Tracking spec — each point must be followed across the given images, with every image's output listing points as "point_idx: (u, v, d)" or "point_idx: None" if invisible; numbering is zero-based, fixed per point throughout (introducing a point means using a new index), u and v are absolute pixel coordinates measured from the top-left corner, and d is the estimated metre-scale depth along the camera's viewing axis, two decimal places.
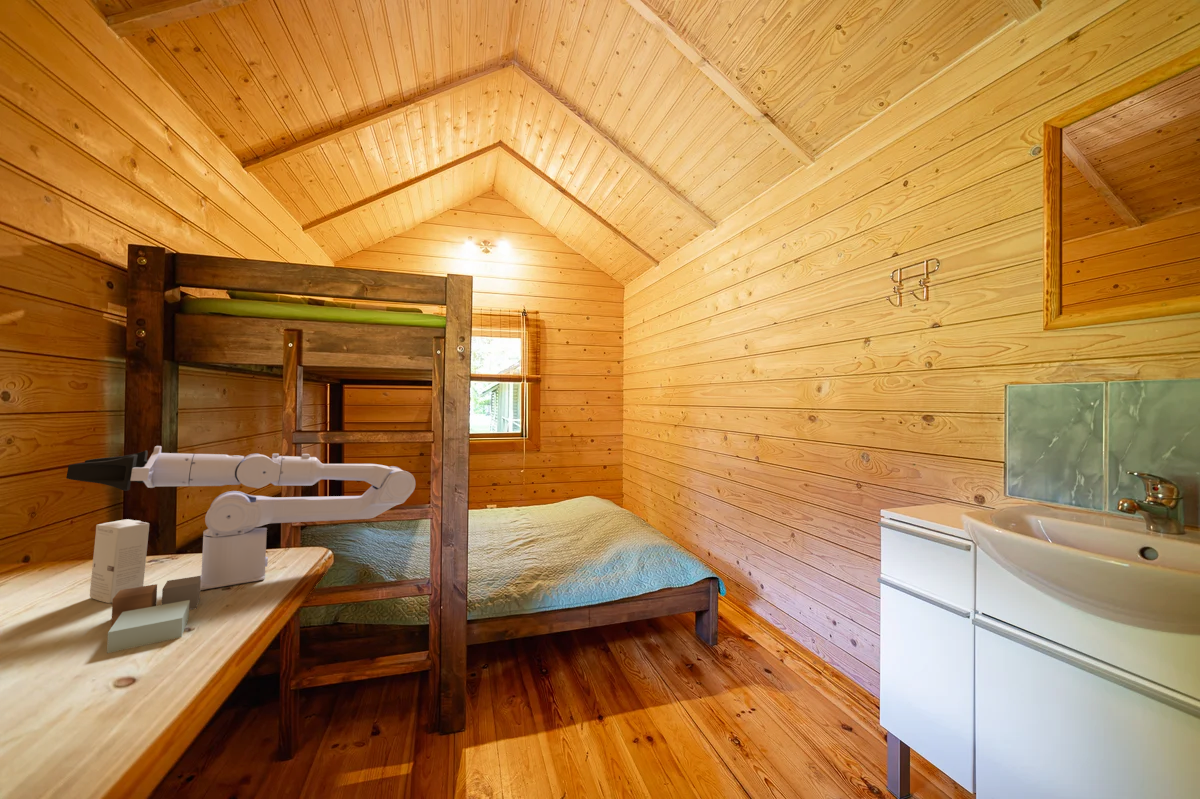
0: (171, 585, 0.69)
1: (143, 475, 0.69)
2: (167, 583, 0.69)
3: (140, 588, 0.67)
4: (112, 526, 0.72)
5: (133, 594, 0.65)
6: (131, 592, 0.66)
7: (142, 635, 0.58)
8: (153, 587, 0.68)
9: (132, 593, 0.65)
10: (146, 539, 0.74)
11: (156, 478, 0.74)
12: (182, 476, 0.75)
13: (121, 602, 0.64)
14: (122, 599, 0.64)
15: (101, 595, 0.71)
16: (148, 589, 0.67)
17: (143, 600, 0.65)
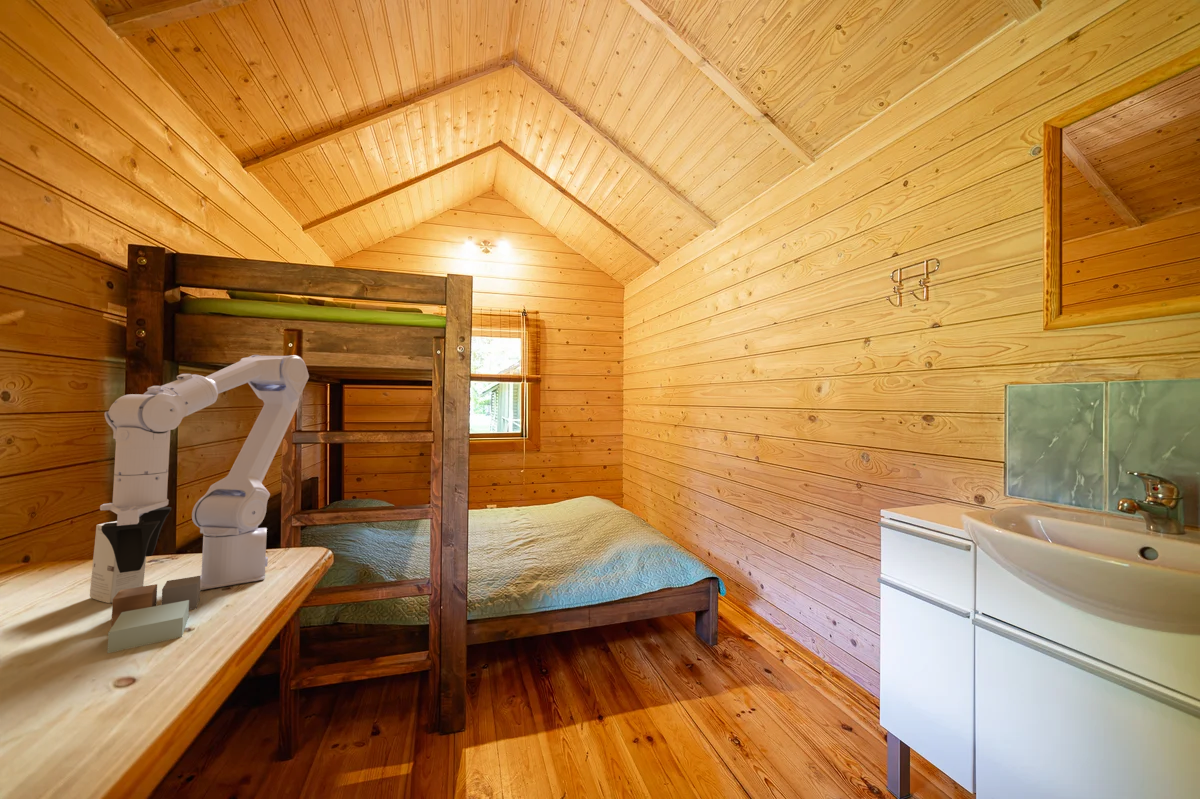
0: (171, 585, 0.69)
1: (129, 514, 0.61)
2: (167, 583, 0.69)
3: (140, 588, 0.67)
4: None
5: (133, 594, 0.65)
6: (131, 592, 0.66)
7: (142, 634, 0.58)
8: (153, 587, 0.68)
9: (132, 593, 0.65)
10: None
11: (148, 501, 0.65)
12: (145, 480, 0.65)
13: (121, 602, 0.64)
14: (122, 599, 0.64)
15: (101, 595, 0.71)
16: (148, 589, 0.67)
17: (144, 600, 0.65)
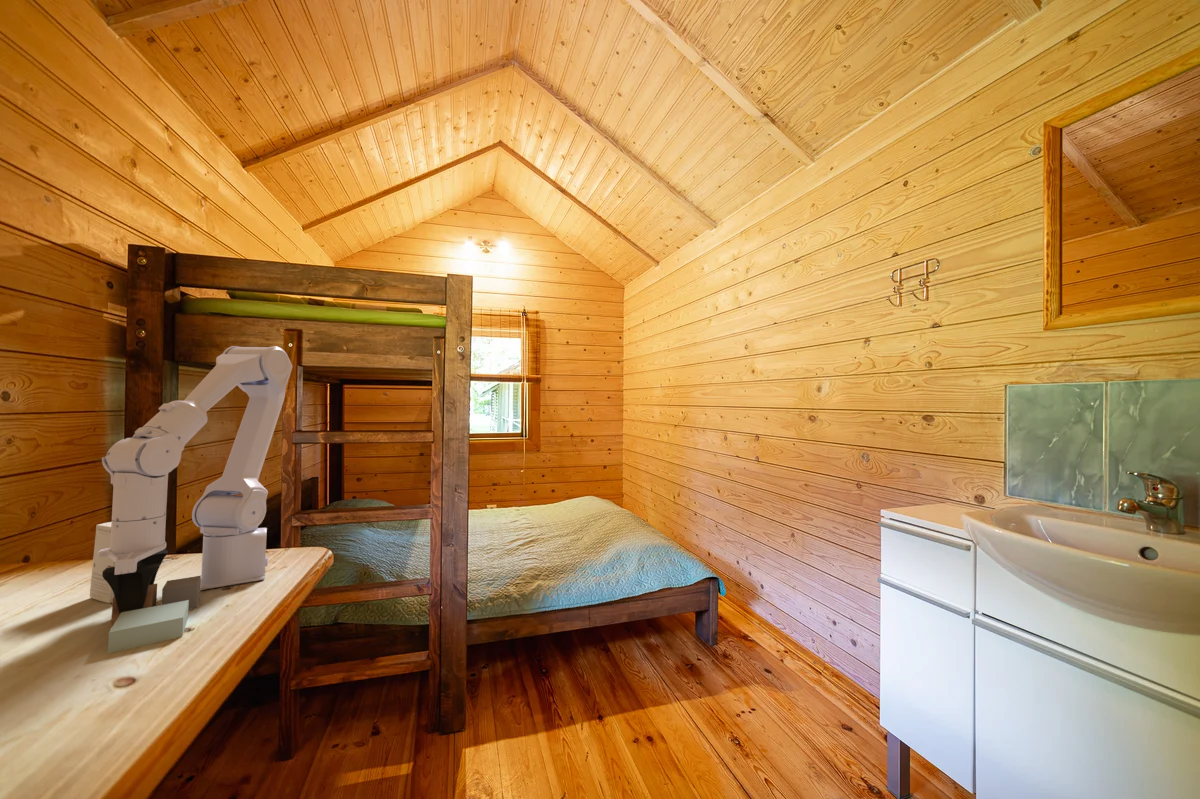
0: (171, 585, 0.69)
1: (127, 563, 0.61)
2: (167, 583, 0.69)
3: None
4: None
5: None
6: None
7: (143, 634, 0.58)
8: (153, 586, 0.68)
9: None
10: None
11: (145, 546, 0.65)
12: (143, 525, 0.65)
13: None
14: None
15: (101, 595, 0.71)
16: (148, 588, 0.67)
17: None
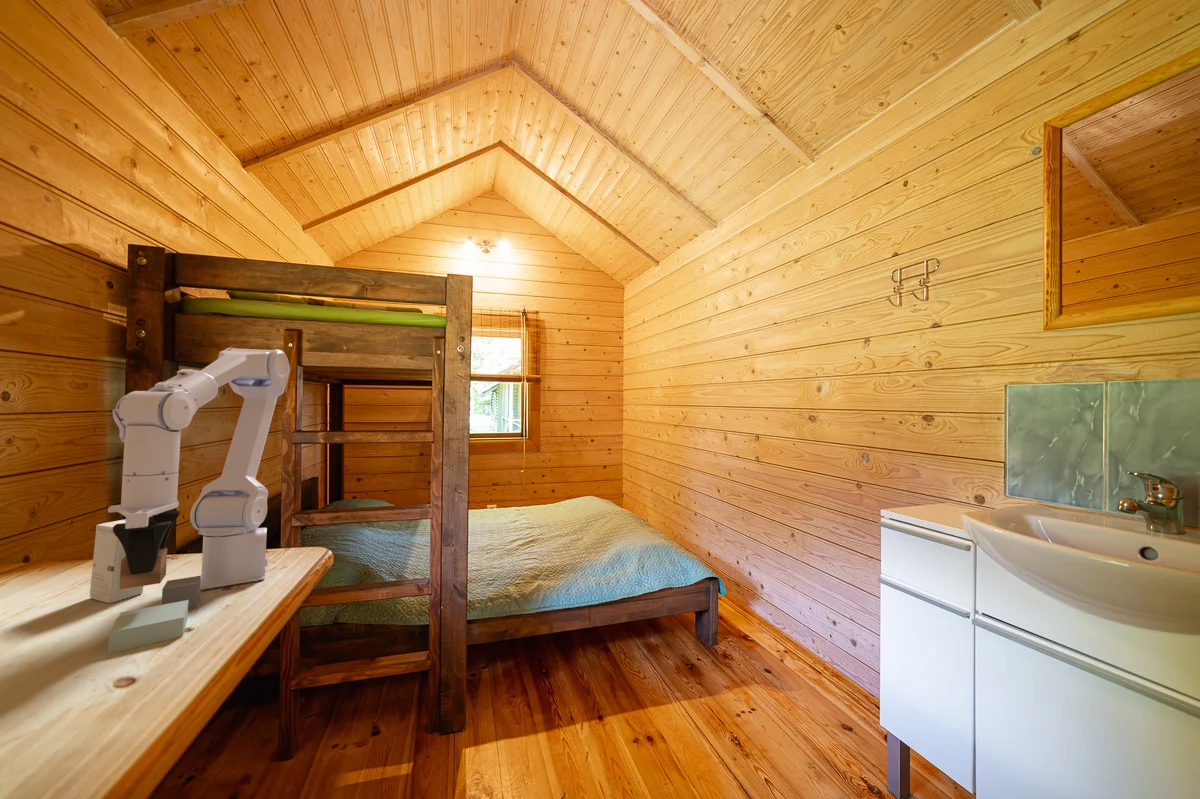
0: (171, 585, 0.69)
1: (138, 517, 0.58)
2: (167, 583, 0.69)
3: None
4: (112, 526, 0.72)
5: None
6: None
7: (143, 634, 0.59)
8: (163, 550, 0.65)
9: None
10: None
11: (157, 503, 0.62)
12: (155, 481, 0.62)
13: None
14: None
15: (101, 595, 0.71)
16: None
17: None
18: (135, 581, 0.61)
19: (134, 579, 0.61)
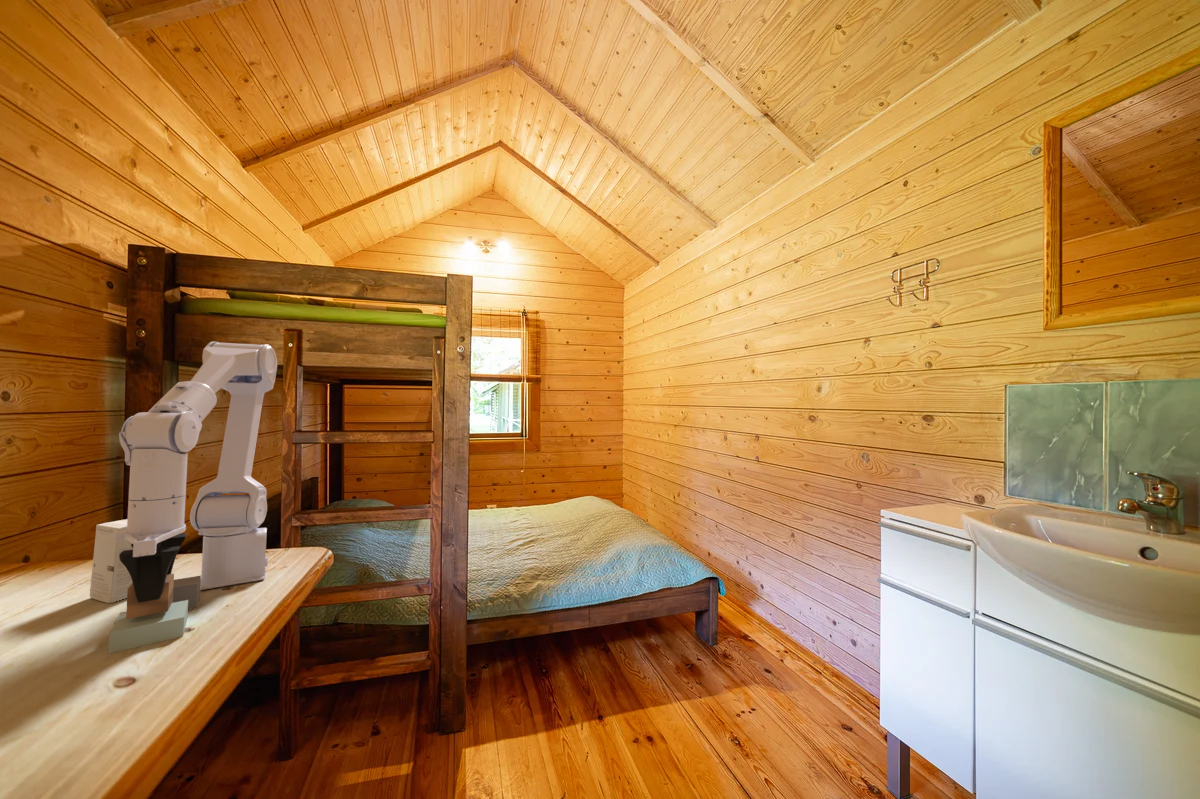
0: None
1: (146, 544, 0.56)
2: None
3: None
4: (112, 526, 0.72)
5: None
6: None
7: (143, 634, 0.59)
8: (170, 576, 0.63)
9: None
10: None
11: (165, 528, 0.61)
12: (162, 505, 0.60)
13: None
14: None
15: (101, 595, 0.71)
16: None
17: None
18: (142, 610, 0.60)
19: (141, 607, 0.59)
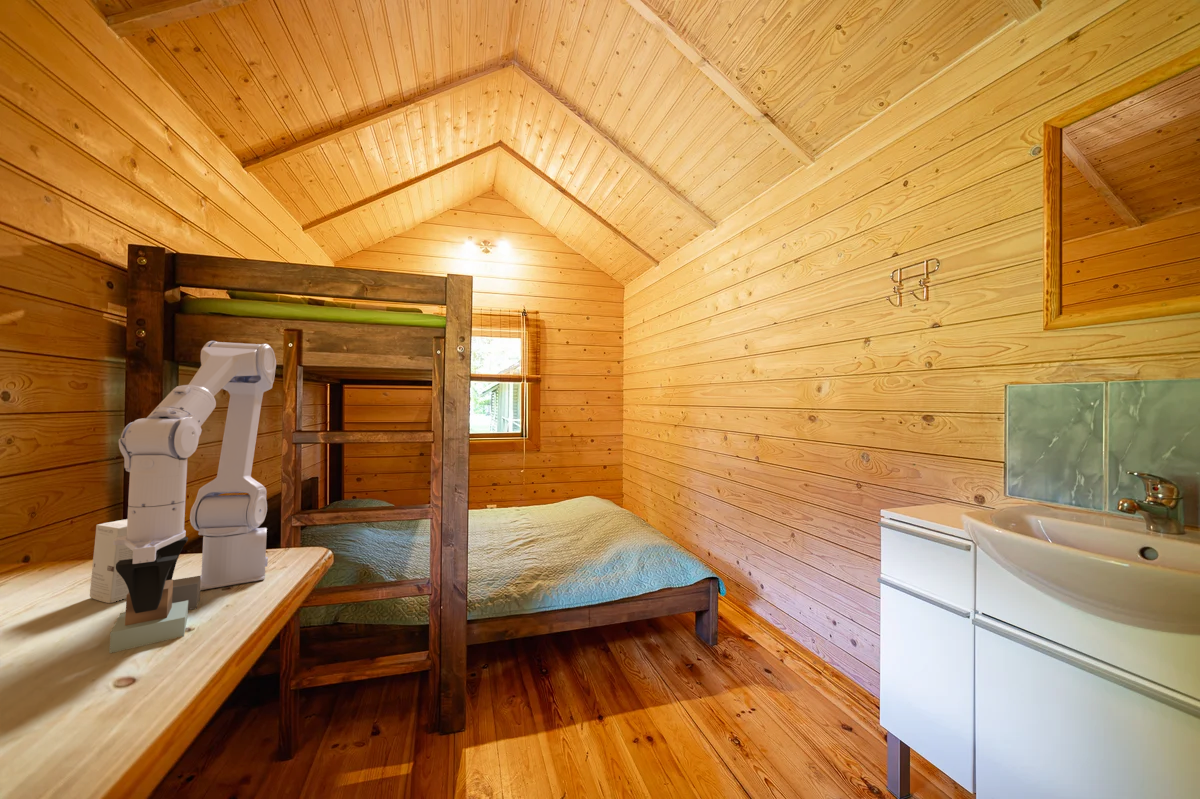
0: None
1: (145, 551, 0.56)
2: None
3: None
4: (112, 526, 0.72)
5: None
6: None
7: (144, 634, 0.59)
8: (169, 582, 0.63)
9: None
10: None
11: (164, 534, 0.61)
12: (162, 512, 0.60)
13: None
14: None
15: (101, 595, 0.71)
16: None
17: None
18: (141, 616, 0.59)
19: (140, 614, 0.59)
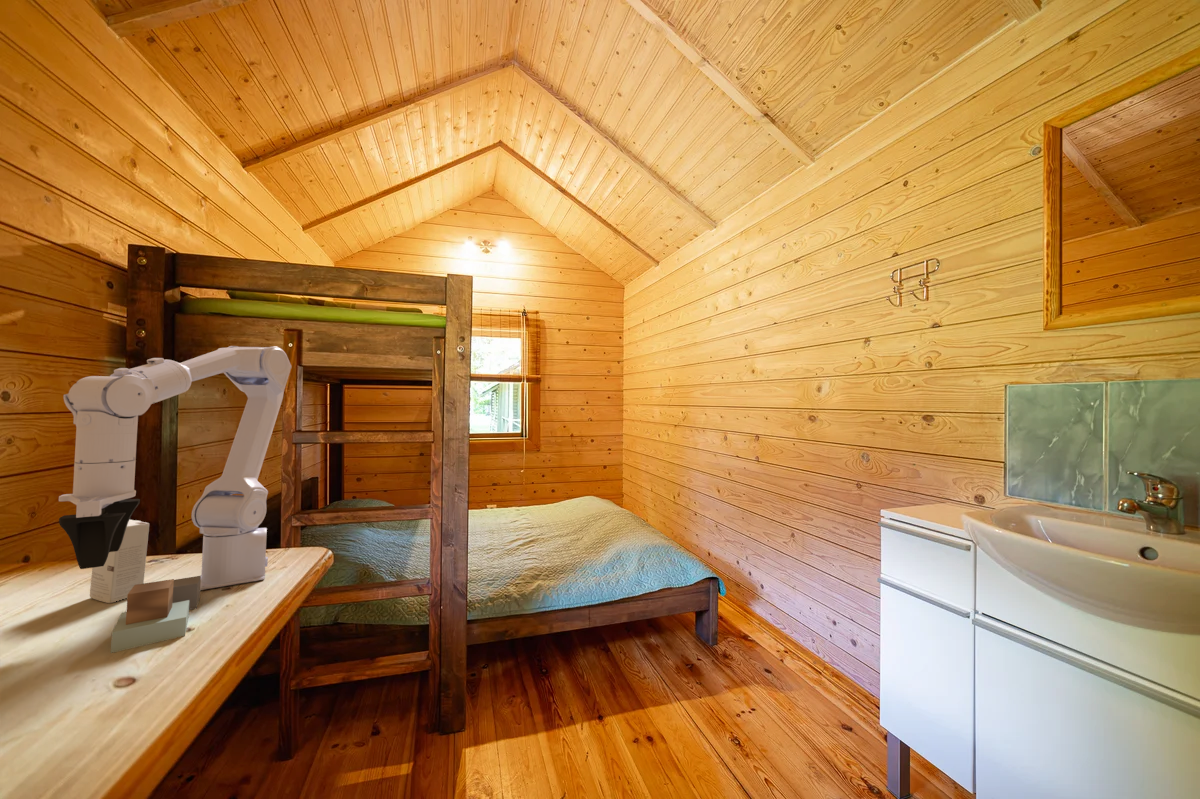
0: None
1: (90, 505, 0.56)
2: None
3: (156, 583, 0.63)
4: None
5: (149, 589, 0.60)
6: (146, 587, 0.61)
7: (146, 634, 0.59)
8: (170, 582, 0.63)
9: (147, 588, 0.61)
10: (146, 539, 0.74)
11: (112, 492, 0.60)
12: (109, 469, 0.60)
13: (136, 597, 0.59)
14: (138, 595, 0.59)
15: (101, 595, 0.71)
16: (165, 584, 0.62)
17: (160, 596, 0.61)
18: (142, 615, 0.60)
19: (141, 613, 0.60)
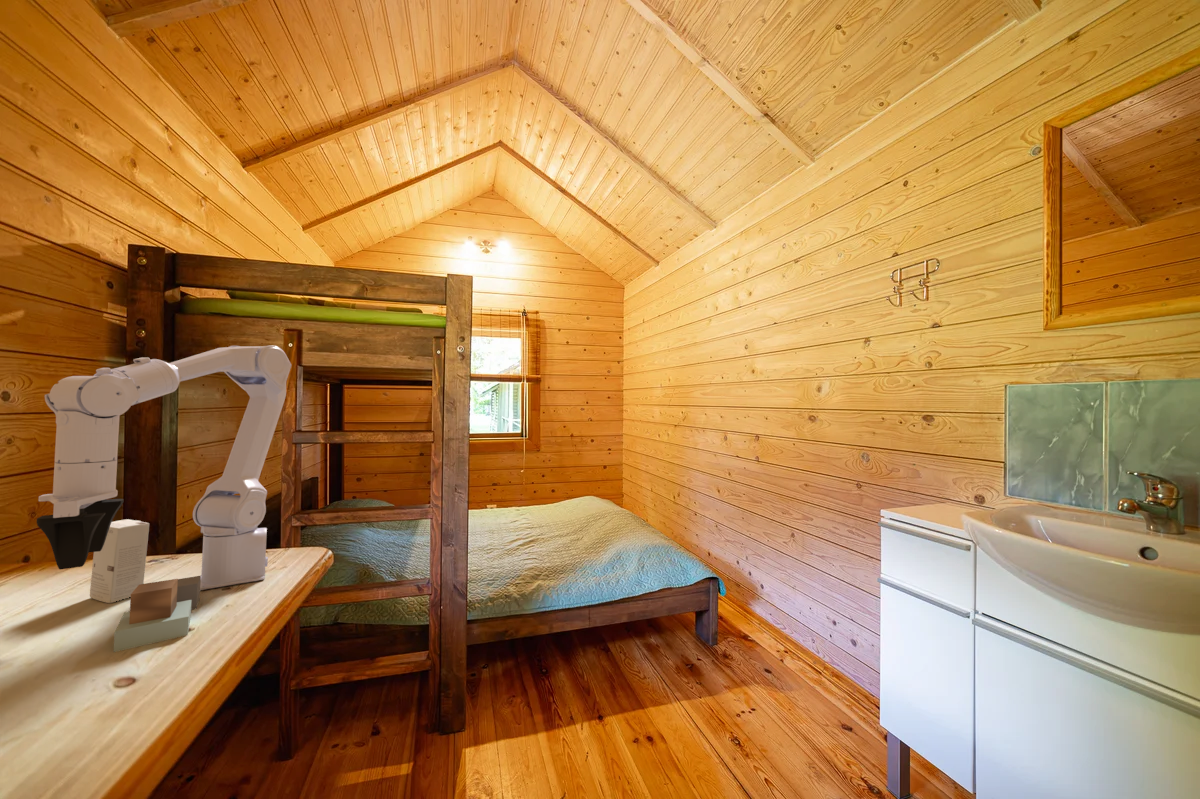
0: None
1: (67, 506, 0.56)
2: None
3: (160, 583, 0.63)
4: (112, 526, 0.72)
5: (152, 589, 0.61)
6: (150, 587, 0.61)
7: (148, 633, 0.59)
8: (173, 582, 0.63)
9: (151, 588, 0.61)
10: (146, 539, 0.74)
11: (92, 492, 0.60)
12: (89, 469, 0.60)
13: (139, 597, 0.59)
14: (141, 595, 0.59)
15: (101, 595, 0.71)
16: (168, 583, 0.63)
17: (163, 596, 0.61)
18: (145, 615, 0.60)
19: (144, 613, 0.60)
